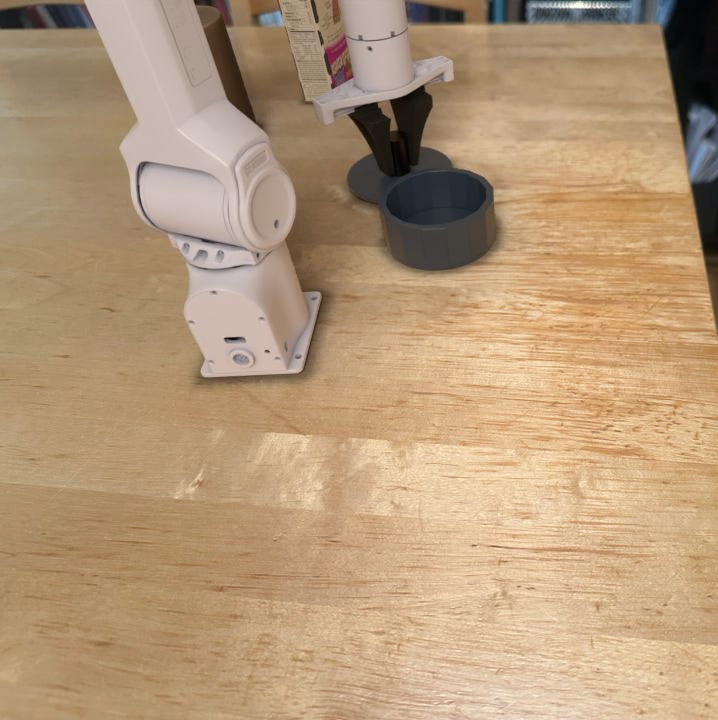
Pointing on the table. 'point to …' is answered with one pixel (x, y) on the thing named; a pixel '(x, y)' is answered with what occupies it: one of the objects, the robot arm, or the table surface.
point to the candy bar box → (317, 44)
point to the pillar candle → (225, 59)
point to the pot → (438, 218)
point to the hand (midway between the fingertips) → (399, 166)
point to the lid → (373, 181)
